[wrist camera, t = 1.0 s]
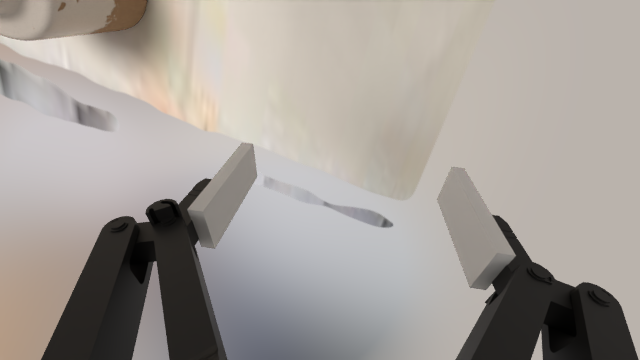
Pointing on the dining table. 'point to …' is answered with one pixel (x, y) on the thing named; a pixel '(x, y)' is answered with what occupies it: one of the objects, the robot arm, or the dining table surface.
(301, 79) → the dining table surface
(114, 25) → the vase
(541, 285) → the robot arm
